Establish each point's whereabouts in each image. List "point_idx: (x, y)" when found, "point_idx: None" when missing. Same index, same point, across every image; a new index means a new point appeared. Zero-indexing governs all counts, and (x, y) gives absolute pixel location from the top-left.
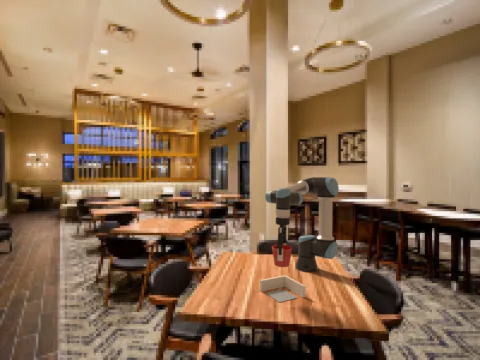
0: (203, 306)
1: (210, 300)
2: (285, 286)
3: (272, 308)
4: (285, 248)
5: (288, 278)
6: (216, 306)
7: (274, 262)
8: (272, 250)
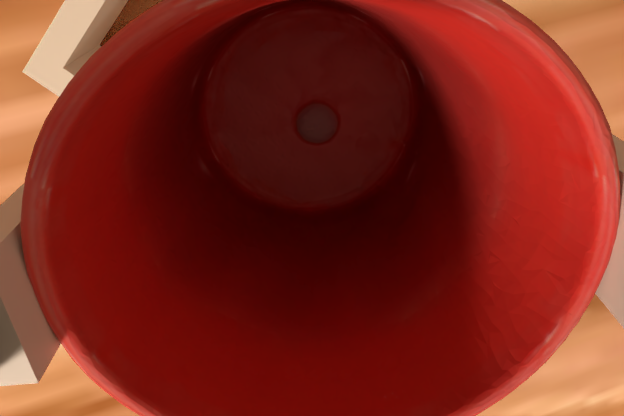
0: (607, 393)
1: (531, 394)
2: (104, 34)
3: (552, 37)
4: (94, 191)
5: (98, 12)
6: (595, 345)
7: (371, 220)
8: (399, 382)
